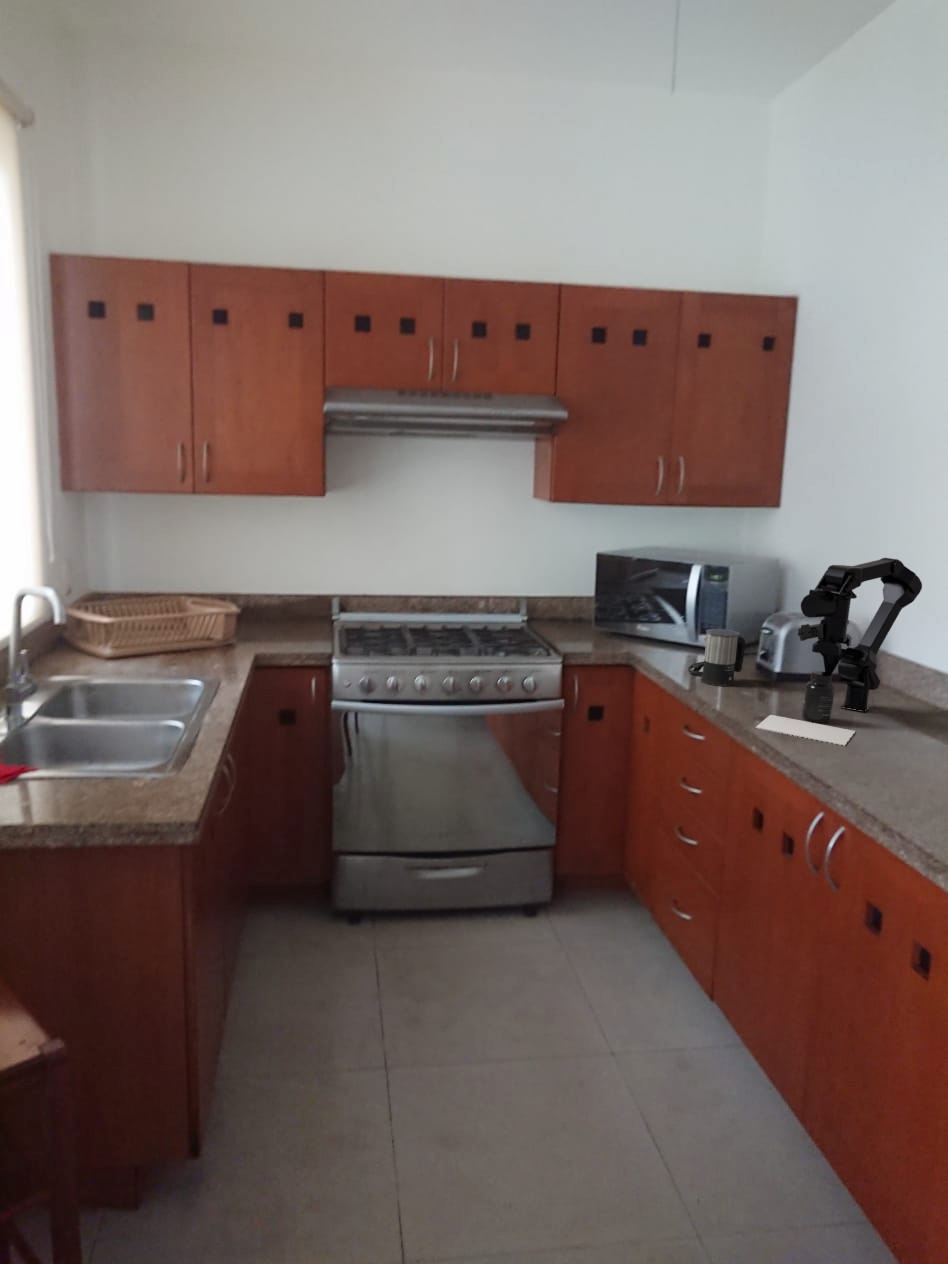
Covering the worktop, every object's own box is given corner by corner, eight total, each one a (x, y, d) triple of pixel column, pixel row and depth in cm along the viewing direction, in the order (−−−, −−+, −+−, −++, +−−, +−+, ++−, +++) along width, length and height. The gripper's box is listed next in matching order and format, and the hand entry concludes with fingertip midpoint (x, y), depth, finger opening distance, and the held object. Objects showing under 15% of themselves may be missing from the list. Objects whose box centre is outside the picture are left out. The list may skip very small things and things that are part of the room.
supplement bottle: (795, 716, 230) (801, 670, 227) (817, 715, 232) (823, 669, 230) (814, 724, 223) (820, 676, 221) (836, 723, 226) (843, 676, 223)
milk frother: (726, 688, 255) (732, 636, 252) (673, 677, 264) (679, 627, 261) (745, 680, 266) (751, 630, 263) (694, 670, 275) (699, 621, 272)
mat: (770, 715, 229) (770, 714, 229) (855, 732, 219) (855, 731, 219) (755, 728, 217) (755, 727, 217) (844, 746, 207) (844, 744, 207)
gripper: (810, 607, 242) (803, 664, 245) (794, 615, 227) (787, 677, 230) (855, 613, 237) (847, 672, 240) (842, 622, 221) (833, 685, 224)
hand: (828, 676), depth 233 cm, fingers closed
